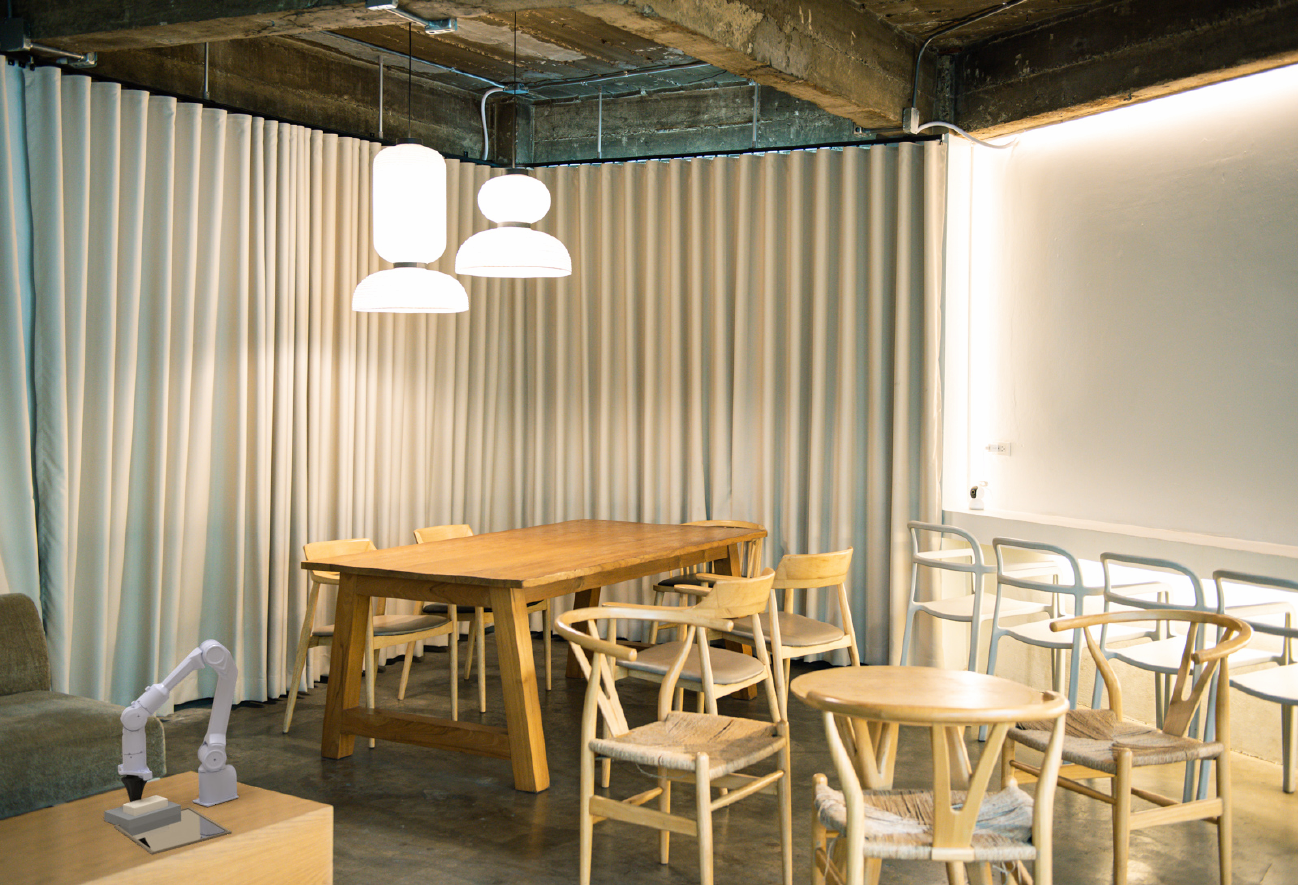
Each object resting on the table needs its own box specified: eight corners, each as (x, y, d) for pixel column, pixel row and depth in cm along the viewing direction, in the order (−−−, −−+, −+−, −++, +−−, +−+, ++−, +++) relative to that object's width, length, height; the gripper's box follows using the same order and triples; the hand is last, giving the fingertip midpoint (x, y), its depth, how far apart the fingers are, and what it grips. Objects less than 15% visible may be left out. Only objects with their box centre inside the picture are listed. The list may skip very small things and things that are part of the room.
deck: (155, 805, 291) (155, 796, 291) (181, 814, 284) (180, 804, 284) (104, 820, 280) (104, 811, 280) (129, 829, 272) (128, 820, 272)
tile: (156, 802, 286) (156, 795, 286) (167, 806, 283) (167, 798, 283) (123, 811, 279) (122, 804, 279) (134, 816, 276) (134, 808, 276)
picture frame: (114, 829, 275) (152, 856, 254) (114, 825, 275) (152, 852, 254) (189, 810, 288) (231, 835, 268) (189, 806, 288) (231, 831, 268)
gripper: (106, 751, 286) (107, 802, 285) (133, 759, 277) (134, 811, 277) (132, 745, 291) (133, 794, 291) (159, 752, 282) (160, 804, 282)
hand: (135, 802), depth 284 cm, fingers closed
